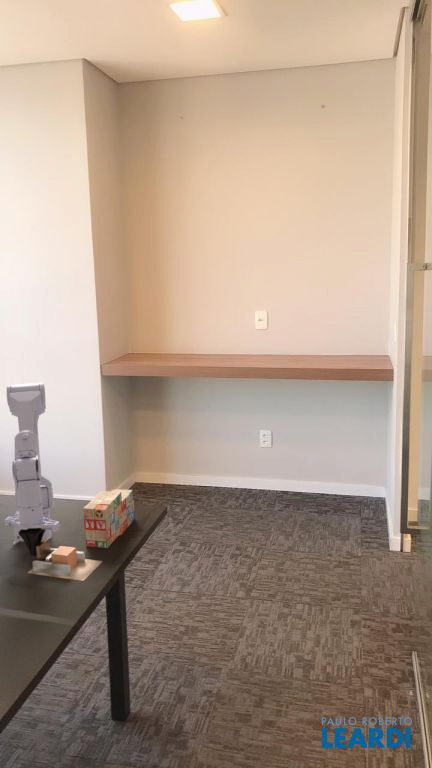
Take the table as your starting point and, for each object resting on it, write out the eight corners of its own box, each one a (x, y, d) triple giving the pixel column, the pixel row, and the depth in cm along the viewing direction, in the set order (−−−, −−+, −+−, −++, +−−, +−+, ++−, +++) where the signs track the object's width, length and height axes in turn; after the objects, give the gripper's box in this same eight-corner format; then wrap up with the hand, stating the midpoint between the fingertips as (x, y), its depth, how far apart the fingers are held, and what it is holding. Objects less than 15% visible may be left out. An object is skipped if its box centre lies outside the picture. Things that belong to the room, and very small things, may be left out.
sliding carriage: (37, 567, 158) (35, 546, 156) (48, 557, 162) (47, 537, 161) (49, 569, 157) (48, 548, 155) (60, 559, 161) (59, 539, 160)
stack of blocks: (115, 517, 190) (112, 479, 187) (135, 519, 188) (132, 480, 186) (86, 550, 169) (82, 507, 167) (108, 552, 168) (104, 508, 165)
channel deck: (27, 576, 156) (26, 563, 155) (49, 557, 165) (48, 545, 165) (83, 584, 152) (82, 571, 151) (103, 564, 161) (102, 552, 160)
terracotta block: (52, 570, 157) (51, 553, 156) (61, 561, 161) (60, 545, 160) (68, 572, 156) (66, 555, 155) (77, 563, 160) (76, 547, 159)
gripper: (-5, 507, 156) (0, 558, 159) (46, 513, 152) (51, 565, 154) (12, 496, 162) (17, 545, 165) (62, 501, 158) (66, 551, 161)
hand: (35, 554), depth 160 cm, fingers closed
